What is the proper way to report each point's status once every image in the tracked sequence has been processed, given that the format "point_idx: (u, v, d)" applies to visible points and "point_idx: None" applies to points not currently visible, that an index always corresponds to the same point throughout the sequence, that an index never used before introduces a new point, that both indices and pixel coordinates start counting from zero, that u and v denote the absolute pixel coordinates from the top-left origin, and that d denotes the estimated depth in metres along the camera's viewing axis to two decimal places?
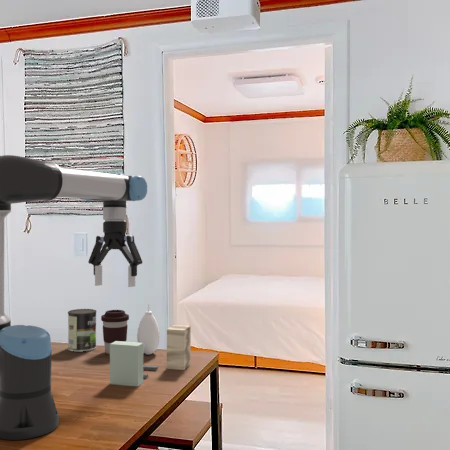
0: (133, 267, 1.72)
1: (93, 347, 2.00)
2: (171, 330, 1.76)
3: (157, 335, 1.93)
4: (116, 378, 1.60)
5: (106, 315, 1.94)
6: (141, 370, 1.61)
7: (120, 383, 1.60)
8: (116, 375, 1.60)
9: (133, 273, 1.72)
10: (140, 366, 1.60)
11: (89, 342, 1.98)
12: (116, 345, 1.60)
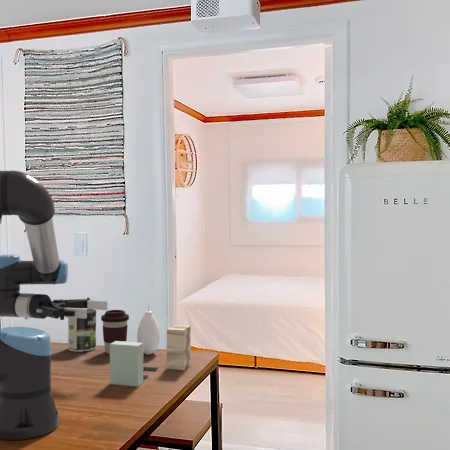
0: None
1: (93, 347, 2.00)
2: (171, 330, 1.76)
3: (157, 335, 1.93)
4: (116, 378, 1.60)
5: (106, 315, 1.94)
6: (141, 370, 1.61)
7: (120, 383, 1.60)
8: (116, 375, 1.60)
9: None
10: (140, 366, 1.60)
11: (89, 342, 1.98)
12: (116, 345, 1.60)
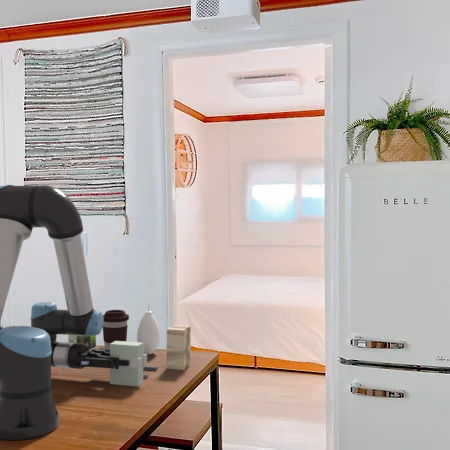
0: None
1: (93, 347, 2.00)
2: (171, 330, 1.76)
3: (157, 335, 1.93)
4: (116, 378, 1.60)
5: (106, 315, 1.94)
6: (141, 370, 1.61)
7: (120, 383, 1.60)
8: (116, 375, 1.60)
9: None
10: None
11: (89, 342, 1.98)
12: (116, 345, 1.60)
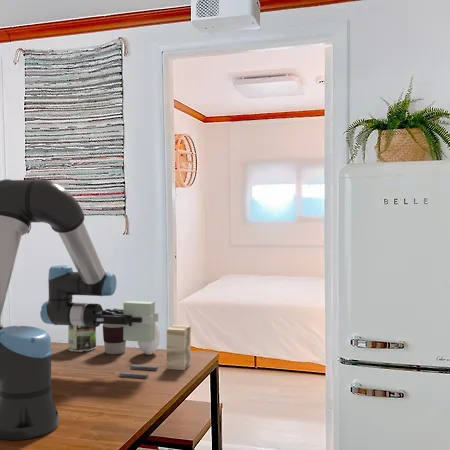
0: None
1: (93, 347, 2.00)
2: (171, 330, 1.76)
3: (157, 335, 1.93)
4: (129, 334, 1.70)
5: None
6: (153, 327, 1.71)
7: (133, 339, 1.70)
8: (129, 331, 1.70)
9: None
10: None
11: (89, 342, 1.98)
12: (129, 303, 1.70)
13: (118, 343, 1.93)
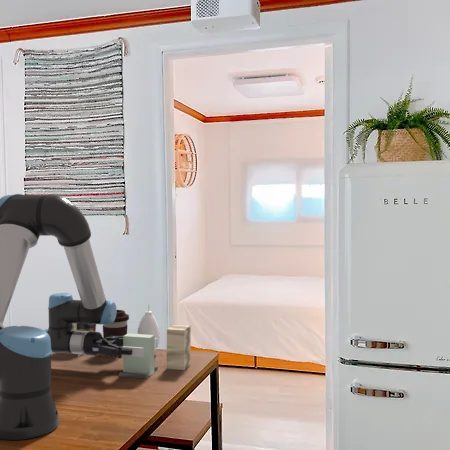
0: None
1: None
2: (171, 330, 1.76)
3: (157, 335, 1.93)
4: (129, 368, 1.71)
5: None
6: (152, 361, 1.72)
7: None
8: (129, 365, 1.71)
9: None
10: (151, 357, 1.71)
11: None
12: (129, 337, 1.70)
13: None
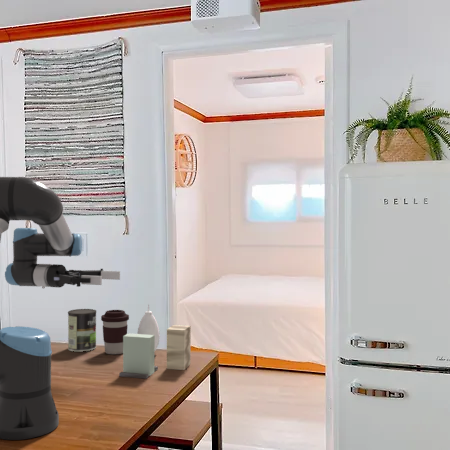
0: None
1: (93, 347, 2.00)
2: (171, 330, 1.76)
3: (157, 335, 1.93)
4: (129, 368, 1.71)
5: (106, 315, 1.94)
6: (152, 361, 1.72)
7: None
8: (129, 365, 1.71)
9: None
10: (151, 357, 1.71)
11: (89, 342, 1.98)
12: (129, 337, 1.70)
13: (118, 343, 1.93)
